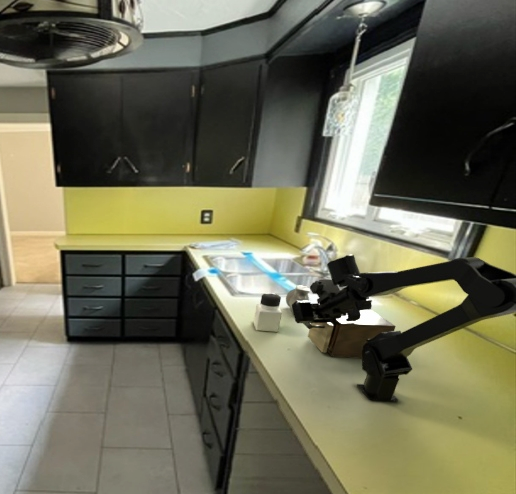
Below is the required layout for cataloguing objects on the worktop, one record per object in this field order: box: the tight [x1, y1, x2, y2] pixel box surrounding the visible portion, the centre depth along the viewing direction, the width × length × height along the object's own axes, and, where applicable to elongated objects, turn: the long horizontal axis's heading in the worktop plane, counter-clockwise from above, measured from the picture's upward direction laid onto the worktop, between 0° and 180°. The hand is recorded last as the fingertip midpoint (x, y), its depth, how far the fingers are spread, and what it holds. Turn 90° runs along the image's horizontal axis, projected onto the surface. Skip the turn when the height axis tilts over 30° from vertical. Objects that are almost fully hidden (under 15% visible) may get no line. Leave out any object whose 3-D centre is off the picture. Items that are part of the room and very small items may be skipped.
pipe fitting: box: [285, 284, 311, 316], centre depth 139 cm, size 12×8×10 cm
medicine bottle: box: [253, 292, 283, 333], centre depth 124 cm, size 7×7×12 cm
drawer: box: [302, 322, 339, 353], centre depth 110 cm, size 18×11×9 cm, turn 84°
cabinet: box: [326, 309, 397, 359], centre depth 110 cm, size 15×13×11 cm
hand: (308, 321), depth 111 cm, fingers closed, pressing on drawer
